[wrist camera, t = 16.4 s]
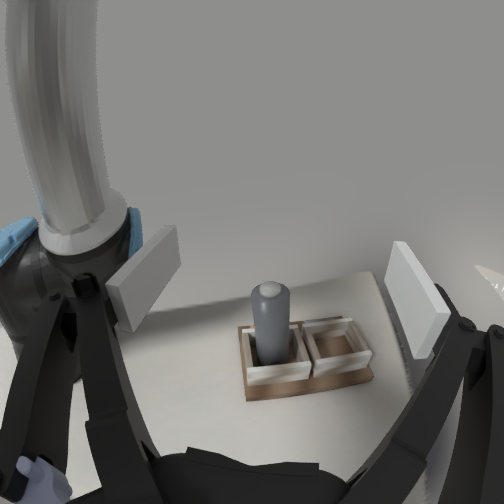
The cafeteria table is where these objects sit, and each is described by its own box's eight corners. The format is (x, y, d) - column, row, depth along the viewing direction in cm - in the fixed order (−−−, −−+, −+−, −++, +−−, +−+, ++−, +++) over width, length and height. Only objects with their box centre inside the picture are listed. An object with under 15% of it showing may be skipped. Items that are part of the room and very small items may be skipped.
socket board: (246, 401, 32) (245, 384, 30) (238, 331, 44) (237, 312, 43) (371, 380, 34) (380, 362, 32) (340, 320, 46) (344, 302, 44)
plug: (258, 373, 35) (251, 300, 29) (257, 350, 39) (250, 278, 33) (290, 370, 35) (292, 296, 29) (286, 347, 39) (286, 275, 33)
